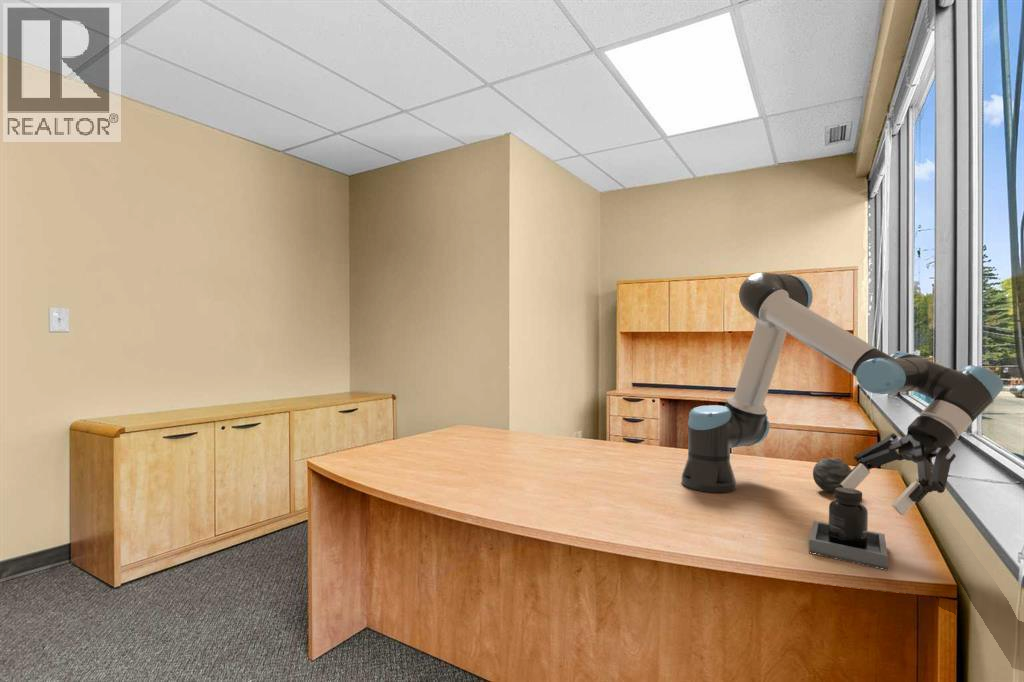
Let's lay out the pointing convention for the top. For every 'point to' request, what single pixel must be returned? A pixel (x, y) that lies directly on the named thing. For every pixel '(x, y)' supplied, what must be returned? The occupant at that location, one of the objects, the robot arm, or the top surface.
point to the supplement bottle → (848, 519)
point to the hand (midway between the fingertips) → (869, 498)
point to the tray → (849, 547)
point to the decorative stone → (830, 474)
